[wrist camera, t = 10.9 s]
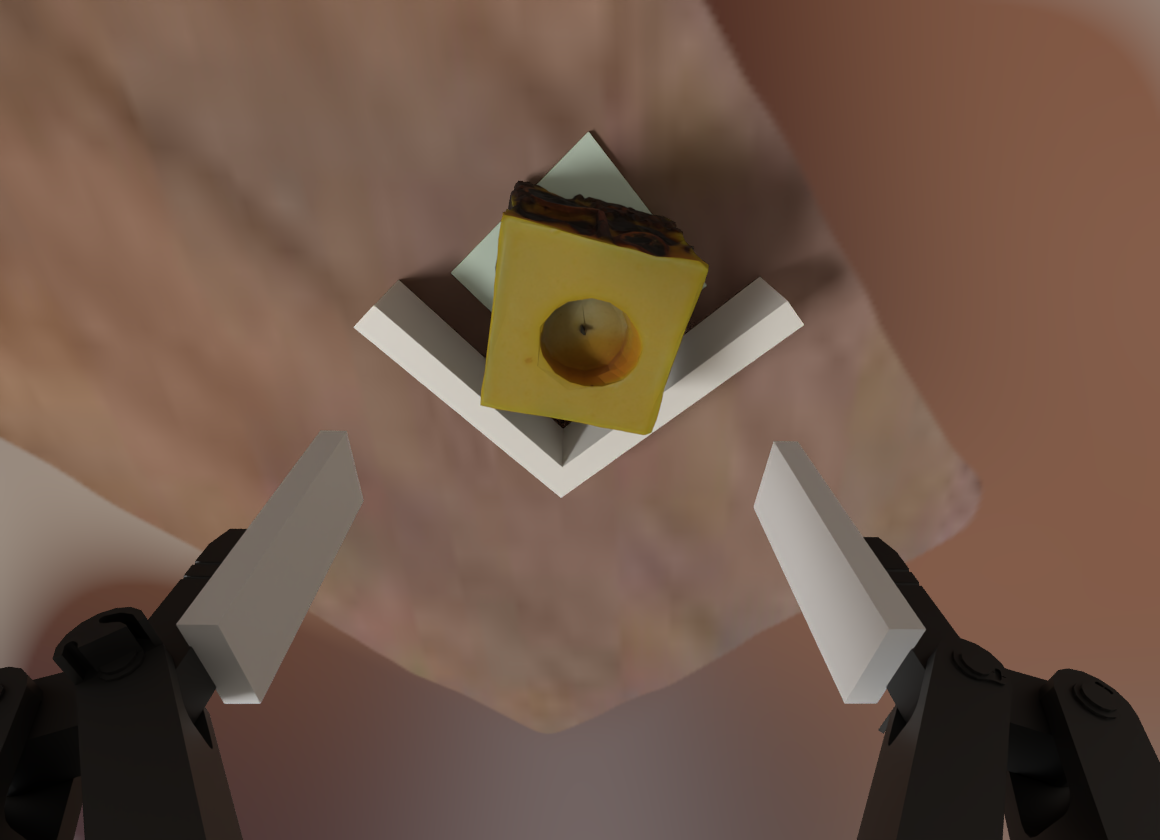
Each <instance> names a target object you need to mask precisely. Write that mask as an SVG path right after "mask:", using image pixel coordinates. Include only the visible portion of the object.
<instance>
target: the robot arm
mask: <svg viewBox="0 0 1160 840" xmlns="http://www.w3.org/2000/svg"><path fill="white" fill-rule="evenodd" d="M363 501H364V500H363V496H362V492H361V488H360V484H359V480H358V476H357V471H356V467H355V463H354V459H353V455H352V451H351V447H350V443H349V439H348V435H347V431H320V432H319V433H318V435H317V436H316V437H315V439H314V440H313V441H312V443H311V444H310V446H309V447H308V448H307V450H306V451H305V452H304V454H303V455H302V456H301V458H300V459H299V460H298V462H297V463H296V464H295V466H294V467H293V468H292V470H291V471H290V472H289V474H288V475H287V476H286V478H285V479H284V480H283V482H282V483H281V484H280V486H279V487H278V488H277V490H276V491H275V492H274V494H273V495H272V496H271V498H270V499H269V500H268V502H267V503H266V505H265V506H264V507H263V509H262V510H261V511H260V513H259V514H258V515H257V517H256V518H255V519H254V521H253V522H252V523H251V525H250V526H249V527H248V529H229V530H228V531H226V532H225V533H224V534H222V535H221V536H219V537H218V538H217V539H215V540H214V541H213V542H211V543H210V544H209V545H208V546H207V547H206V549H205V550H204V551H203V552H202V554H201V555H200V556H199V557H198V558H197V560H196V561H195V565H192V566H191V567H190V568H189V570H188V571H187V572H186V573H185V575H184V578H183V579H181V580H180V581H179V582H178V583H177V585H176V586H175V587H174V588H173V590H172V591H171V592H170V593H169V594H168V596H167V597H166V598H165V600H164V601H163V602H162V603H161V604H160V606H159V607H158V608H157V609H156V611H155V612H154V613H153V614H152V616H151V617H150V618H149V619H148V620H147V618H146V617H145V615H144V614H143V612H142V611H141V610H138V609H135V608H132V607H125V608H115V609H112V610H109V611H106V612H102V613H100V614H97V615H95V616H93V617H91V618H90V619H88V620H86V621H84V622H82V623H81V624H79V625H78V626H77V627H75V628H74V629H73V630H72V631H70V632H69V633H68V634H67V635H66V636H65V637H64V638H63V639H62V641H61V642H60V643H59V644H58V646H57V647H56V649H55V653H54V656H53V660H54V661H55V662H56V664H57V665H58V666H59V667H60V668H61V669H62V671H63V672H62V673H58V674H55V675H51V676H47V677H43V678H39V679H35V680H32V679H31V678H30V677H29V676H28V675H27V674H26V673H25V672H24V671H23V670H22V669H21V668H14V667H5V668H0V840H73V839H74V835H75V831H76V827H77V822H78V818H79V814H80V811H81V807H82V803H83V817H84V833H85V840H243V838H242V835H241V830H240V827H239V823H238V819H237V815H236V812H235V808H234V804H233V801H232V797H231V793H230V789H229V785H228V782H227V778H226V774H225V771H224V767H223V763H222V759H221V755H220V752H219V748H218V744H217V741H216V737H215V733H214V729H213V725H212V722H211V718H210V714H209V712H208V711H207V709H206V708H205V706H206V704H207V702H208V701H209V699H210V697H211V696H212V694H213V692H214V690H215V689H216V691H217V692H218V694H219V695H220V697H221V698H222V700H223V702H224V703H225V704H260V703H261V702H262V700H263V698H264V696H265V694H266V692H267V690H268V688H269V686H270V684H271V682H272V680H273V678H274V676H275V674H276V672H277V670H278V668H279V666H280V664H281V662H282V660H283V658H284V656H285V654H286V652H287V651H288V648H289V646H290V645H291V643H292V641H293V639H294V637H295V635H296V633H297V631H298V629H299V627H300V625H301V623H302V620H303V619H304V617H305V615H306V613H307V611H308V609H309V607H310V605H311V603H312V601H313V599H314V597H315V595H316V593H317V591H318V589H319V587H320V585H321V583H322V582H323V580H324V578H325V576H326V574H327V572H328V570H329V568H330V566H331V564H332V562H333V560H334V558H335V556H336V554H337V552H338V550H339V548H340V546H341V544H342V542H343V540H344V538H345V536H346V534H347V532H348V530H349V528H350V526H351V524H352V522H353V520H354V518H355V516H356V514H357V512H358V510H359V509H360V507H361V505H362V503H363ZM754 509H755V512H756V514H757V516H758V518H759V520H760V522H761V524H762V527H763V529H764V531H765V533H766V535H767V537H768V540H769V542H770V544H771V546H772V548H773V550H774V552H775V555H776V557H777V559H778V561H779V563H780V565H781V568H782V570H783V572H784V574H785V576H786V578H787V580H788V583H789V585H790V587H791V589H792V591H793V593H794V596H795V598H796V600H797V602H798V604H799V606H800V608H801V611H802V613H803V615H804V617H805V619H806V621H807V623H808V625H809V628H810V630H811V632H812V634H813V636H814V639H815V641H816V643H817V645H818V647H819V649H820V651H821V653H822V656H823V658H824V660H825V662H826V664H827V667H828V669H829V671H830V673H831V675H832V677H833V679H834V682H835V684H836V686H837V688H838V690H839V692H840V694H841V697H842V699H843V701H844V703H878V701H879V700H880V698H881V696H882V695H883V693H884V692H885V690H886V689H888V691H889V693H890V695H891V697H892V698H893V700H894V702H895V704H896V705H895V707H894V708H893V710H892V711H891V713H890V714H889V715H888V717H887V718H886V720H885V721H884V722H883V724H882V725H881V727H880V729H879V731H880V732H882V733H884V732H885V731H886V732H885V736H884V740H883V743H882V747H881V751H880V754H879V758H878V762H877V766H876V770H875V773H874V777H873V781H872V785H871V789H870V792H869V796H868V799H867V803H866V807H865V811H864V814H863V818H862V822H861V826H860V829H859V834H858V837H857V840H1002V839H1003V823H1004V814H1005V819H1006V823H1007V828H1008V832H1009V837H1010V840H1160V762H1159V760H1158V758H1157V755H1156V754H1155V751H1154V749H1153V747H1152V745H1151V743H1150V741H1149V739H1148V737H1147V734H1146V732H1145V731H1144V728H1143V726H1142V724H1141V722H1140V720H1139V718H1138V716H1137V714H1136V713H1135V711H1134V710H1133V708H1132V707H1131V705H1130V704H1129V703H1128V702H1127V701H1126V700H1125V699H1124V698H1123V697H1122V696H1121V695H1120V694H1119V693H1118V692H1117V691H1116V690H1115V689H1113V688H1112V687H1110V686H1109V685H1107V684H1106V683H1104V682H1103V681H1101V680H1099V679H1098V678H1096V677H1093V676H1091V675H1089V674H1087V673H1085V672H1082V671H1077V670H1073V669H1062V670H1058V671H1057V672H1056V673H1055V674H1054V675H1053V676H1052V677H1051V678H1050V679H1049V680H1048V681H1047V680H1044V679H1040V678H1036V677H1033V676H1030V675H1026V674H1022V673H1019V672H1015V671H1012V670H1008V669H1006V668H1004V667H1003V665H1002V664H1001V663H1000V662H999V661H998V660H997V659H996V658H995V657H994V656H993V655H992V654H991V653H990V652H988V651H986V650H985V649H983V648H982V647H980V646H979V645H976V644H975V643H972V642H969V641H967V640H964V639H961V638H960V637H959V636H958V635H957V633H956V632H955V631H954V629H953V628H952V627H951V625H950V624H949V623H948V621H947V620H946V619H945V617H944V616H943V614H942V613H941V612H940V610H939V609H938V608H937V606H936V605H935V604H934V602H933V601H932V600H931V598H930V597H929V595H928V594H927V593H926V591H925V590H924V589H923V587H922V586H919V582H918V580H917V579H916V578H915V576H914V575H913V574H912V572H909V568H908V567H907V565H906V564H905V563H904V561H903V560H902V559H901V557H900V556H899V555H898V553H897V552H896V551H895V550H893V549H892V548H891V547H890V546H888V545H887V544H886V543H885V542H884V541H882V540H881V539H880V538H879V537H863V536H862V535H861V534H860V532H859V531H858V529H857V528H856V526H855V525H854V523H853V522H852V520H851V519H850V517H849V516H848V515H847V513H846V512H845V510H844V509H843V507H842V506H841V504H840V503H839V501H838V500H837V498H836V497H835V496H834V494H833V493H832V491H831V490H830V488H829V487H828V485H827V484H826V482H825V481H824V479H823V478H822V477H821V475H820V474H819V472H818V471H817V469H816V468H815V466H814V465H813V463H812V462H811V460H810V459H809V458H808V456H807V455H806V453H805V452H804V450H803V449H802V447H801V446H800V444H799V443H798V442H786V441H774V442H773V445H772V449H771V452H770V455H769V458H768V462H767V465H766V468H765V472H764V475H763V478H762V481H761V485H760V488H759V491H758V494H757V498H756V501H755V504H754Z"/></svg>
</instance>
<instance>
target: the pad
mask: <svg viewBox="0 0 1160 840" xmlns="http://www.w3.org/2000/svg"><path fill="white" fill-rule="evenodd" d="M537 185H540V186H541V187H543V188H545V189H546V190H547V191H549V192H551V193H555V194H557V195H559V196H561V197H563V198H565V199H572V198H573V197H574V196H576V195H578V194H581V195H583V197H584V198H587V197H592V198H595V199H600V200H603V201H605V202H608V203H615V204H620V205H623V206H625V207H627V208H628V207H632V208H633V209H635V210H638V211H642V212H645V213H649V214H651V212H650V211H649V210H648V208H647V207H646V206H645V204H644V203H643V202H642V201H641V199H640V198H639V197H638V195H637V194H636V193H635V191H634V190H633V189H632V188H631V186H630V185H629V184H628V182H627V181H626V180H625V178H624V177H623V176H622V175H621V173H620V172H619V171H618V169H617V168H616V167H615V165H614V164H613V163H612V162H611V160H610V159H609V158H608V156H607V155H606V154H605V152H604V151H603V150H602V149H601V147H600V146H599V145H598V143H597V142H596V141H595V139H594V138H593V137H592V136H591V134H590V133H589V132H588V133H587V134H586V135H585V136H584V137H583V138H582V139H581V140H580V141H579V142H578V143H577V144H576V145H575V146H574V147H573V148H572V149H571V150H570V151H569V152H568V153H567V154H566V155H565V156H564V157H563V158H562V159H561V160H560V161H559V162H558V163H557V164H556V165H555V166H554V167H553V168H552V169H551V170H550V171H549V173H548V174H547V175H546V176H545V177H544V178H543V179H542V180H541V181H540V182H539V183H538V184H537ZM500 225H501V222H500V223H499V224H498V225H497V226H496V227H495V228H494V229H493V230H492V231H491V232H490V233H489V234H488V235H487V236H486V237H485V238H484V239H483V240H482V241H481V242H480V243H479V244H478V245H477V246H476V247H475V248H474V249H473V250H472V251H471V253H470V254H469V255H468V256H467V257H466V258H465V259H464V260H463V261H462V262H461V263H460V264H459V265H458V266H457V267H456V268H455V269H454V270H453V271H452V272H451V274H452V275H453V276H454V277H455V278H456V279H457V280H459V281H460V282H461V283H462V284H463V285H464V286H465V287H466V288H467V289H468V290H469V291H470V292H471V293H472V294H473V295H474V296H475V297H476V298H477V299H478V300H479V301H480V302H481V303H482V304H483V305H484V306H486V307H487V308H488V309H489V310H490V311H491V312H492V307H493V297H494V282H495V265H496V260H497V253H498V238H499V231H500ZM706 286H707V285H706V284H705V282H704V285H703V287H702V289H703V288H705V287H706Z"/></svg>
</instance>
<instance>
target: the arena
mask: <svg viewBox="0 0 1160 840" xmlns="http://www.w3.org/2000/svg"><path fill="white" fill-rule="evenodd" d="M803 325H804V324H803V322H802V321H801V320H800V318H799V317H798V315H797V314H796V312H795V311H794V309H793V308H792V307H791V305H790V304H789V302H788V301H787V300H786V299H785V298H784V297H783V296H781V295H780V294H779V293H778V292H777V291H776V290H775V289H774V288H772V287H771V286H770V285H769V284H768V283H767V282H766V281H765V280H763V279H762V278H761V277H758V278H757V279H756V280H755V281H753V282H752V283H751V284H749V285H748V286H747V287H746V288H744V289H743V290H742V291H740V292H739V293H738V294H736V295H735V296H734V297H733V298H731V299H730V300H729V301H727V302H726V303H725V304H724V305H722V306H721V307H720V308H718V309H717V310H716V311H715V312H713V313H712V314H711V315H709V316H708V317H707V318H705V319H704V320H703V321H702V322H700V323H699V324H698V325H696V326H695V327H694V328H693V329H691V330H690V331H689V332H687V333H686V334H685V335H684V336H683V338H682V341H681V344H680V347H679V349H678V352H677V355H676V357H675V360H674V363H673V365H672V368H671V371H670V375H669V378H668V380H667V383H666V386H665V388H664V393H663V398H662V402H661V406H660V410H659V413H658V417H657V420H656V423H655V425H654V428H653V430H652V433H653V432H654V431H656V430H657V429H658V428H660V427H661V426H663V425H664V424H666V423H667V422H668V421H670V420H671V419H673V418H674V417H675V416H677V415H678V414H680V413H681V412H682V411H684V410H685V409H687V408H688V407H689V406H691V405H692V404H694V403H695V402H696V401H698V400H699V399H701V398H702V397H703V396H705V395H706V394H708V393H709V392H711V391H712V390H713V389H715V388H716V387H718V386H719V385H720V384H722V383H723V382H725V381H726V380H727V379H729V378H730V377H732V376H733V375H734V374H736V373H737V372H739V371H740V370H741V369H743V368H744V367H746V366H747V365H748V364H750V363H751V362H753V361H754V360H756V359H757V358H758V357H760V356H761V355H763V354H764V353H765V352H767V351H768V350H770V349H771V348H772V347H774V346H775V345H777V344H778V343H779V342H781V341H782V340H784V339H785V338H786V337H788V336H789V335H791V334H792V333H793V332H795V331H796V330H798V329H799V328H801V327H802V326H803ZM354 328H355V329H356V330H357V331H359V332H360V333H361V334H362V335H364V336H365V337H366V338H367V339H368V340H370V341H371V342H372V343H373V344H375V345H376V346H377V347H378V348H379V349H381V350H382V351H383V352H384V353H385V354H387V355H388V356H389V357H390V358H392V359H393V360H394V361H395V362H396V363H398V364H399V365H400V366H401V367H403V368H404V369H405V370H406V371H407V372H409V373H410V374H411V375H412V376H413V377H415V378H416V379H417V380H418V381H420V382H421V383H422V384H423V385H424V386H426V387H427V388H428V389H429V390H430V391H432V392H433V393H434V394H435V395H437V396H438V397H439V398H440V399H441V400H443V401H444V402H445V403H446V404H448V405H449V406H450V407H451V408H452V409H454V410H455V411H456V412H457V413H458V414H460V415H461V416H462V417H463V418H465V419H466V420H467V421H468V422H469V423H471V424H472V425H473V426H474V427H476V428H477V429H478V430H479V431H480V432H482V433H483V434H484V435H485V436H486V437H488V438H489V439H490V440H491V441H493V442H494V443H495V444H496V445H497V446H499V447H500V448H501V449H502V450H503V451H505V452H506V453H507V454H508V455H510V456H511V457H512V458H513V459H514V460H516V461H517V462H518V463H519V464H521V465H522V466H523V467H524V468H525V469H527V470H528V471H529V472H530V473H531V474H533V475H534V476H535V477H536V478H538V479H539V480H540V481H541V482H542V483H544V484H545V485H546V486H547V487H548V488H550V489H551V490H552V491H553V492H555V493H556V494H557V495H558V496H559V497H563V496H564V495H566V494H567V493H568V492H570V491H571V490H573V489H574V488H575V487H577V486H578V485H580V484H581V483H583V482H584V481H585V480H587V479H588V478H590V477H591V476H592V475H594V474H595V473H597V472H598V471H599V470H601V469H602V468H604V467H605V466H606V465H608V464H609V463H611V462H612V461H613V460H615V459H616V458H618V457H619V456H621V455H622V454H623V453H625V452H626V451H628V450H629V449H630V448H632V447H633V446H635V445H636V444H637V443H639V442H640V441H642V440H643V439H644V438H646V437H647V436H649V435H650V434H651V433H649V434H646V435H639V434H634V433H629V432H624V431H618V430H613V429H607V428H600V427H596V426H592V425H588V424H583V423H578V422H573V421H572V422H571V423H570V424H568V425H567V426H566V427H565V428H562V427H561V426H559V425H558V424H557V423H556V422H555V421H554V420H553V419H552V418H550V417H544V416H538V415H531V414H524V413H518V412H511V411H505V410H499V409H494V408H490V407H485V406H481V405H480V402H481V388H482V383H483V378H484V373H485V365H486V358H484V357H483V356H482V355H481V354H480V353H479V352H478V351H477V350H476V349H474V348H473V347H472V346H471V345H470V344H469V343H468V342H467V341H466V340H465V339H463V338H462V337H461V336H460V335H459V334H458V333H457V332H456V331H455V330H454V329H452V328H451V327H450V326H449V325H448V324H447V323H446V322H445V321H444V320H442V319H441V318H440V317H439V316H438V315H437V314H436V313H435V312H434V311H433V310H431V309H430V308H429V307H428V306H427V305H426V304H425V303H424V302H423V301H422V300H420V299H419V298H418V297H417V296H416V295H415V294H414V293H413V292H412V291H410V290H409V289H408V288H407V287H406V286H405V285H404V284H403V283H402V282H401V281H399V280H398V281H397V282H396V283H395V284H394V285H393V286H392V287H391V288H390V289H389V290H388V291H387V292H386V293H385V294H384V295H383V296H382V298H381V299H380V300H379V301H378V302H377V303H376V304H375V305H374V306H373V307H372V308H371V309H370V310H369V311H368V312H367V313H366V314H365V315H364V317H363V318H362V319H361V320H360V321H359V322H358V323H357V324H356V325H355V326H354Z"/></svg>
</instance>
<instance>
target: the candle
mask: <svg viewBox="0 0 1160 840" xmlns="http://www.w3.org/2000/svg"><path fill="white" fill-rule="evenodd" d="M508 209H509V210H508ZM508 209H507V210H506V212H503V217H502V219H501V225H500V231H499V238H498V253H497V260H496V265H495V282H494V297H493V307H492V315H491V323H490V332H489V339H488V347H487V355H486V365H485V373H484V378H483V383H482V388H481V402H480V405H481V406H485V407H490V408H494V409H499V410H505V411H511V412H518V413H524V414H531V415H538V416H544V417H550V418H556V419H562V420H568V421H573V422H578V423H583V424H588V425H592V426H596V427H600V428H607V429H613V430H618V431H624V432H629V433H634V434H639V435H646V434H649V433H652V430H653V428H654V425H655V423H656V420H657V417H658V413H659V410H660V406H661V402H662V398H663V393H664V388H665V386H666V383H667V380H668V378H669V375H670V371H671V368H672V365H673V363H674V360H675V357H676V355H677V352H678V349H679V347H680V344H681V341H682V338H683V335H684V332H685V329H686V326H687V324H688V322H689V319H690V317H691V315H692V312H693V310H694V308H695V305H696V303H697V300H698V298H699V295H700V293H701V290H702V287H703V285H704V282H705V279H706V276H707V273H708V268H709V265H708V264H707V263H705V262H704V261H703V260H701V259H700V258H699V257H698V256H697V255H696V254H695V253H694V251H693V249H694V248H693V246H689V245H688V244H687V243H686V242H685V240H684V237H683V232H682V231H681V230H680V229H678V228H676V223H675V222H673V221H672V220H670V219H668V218H665V217H662V216H657V215H652V214H649V213H645V212H642V211H638V210H635V209H633V208H632V207H628V208H627V207H625V206H623V205H620V204H615V203H608V202H605V201H603V200H600V199H595V198H592V197H587V198H584V197H583V195H581V194H578V195H576V196H574V197H573V198H572V199H565V198H563V197H561V196H559V195H557V194H555V193H551V192H549V191H547V190H546V189H545V188H543V187H541V186H540V185H533V184H531V183H529V182H523V181H518V182H517V183H516V184H515V186H514V191H512V192H511V195H510V201H509V207H508Z"/></svg>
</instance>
